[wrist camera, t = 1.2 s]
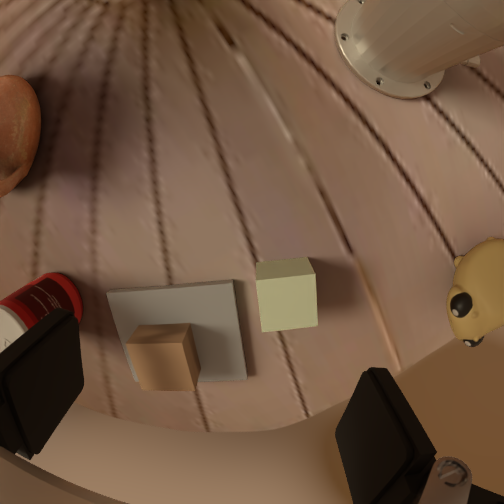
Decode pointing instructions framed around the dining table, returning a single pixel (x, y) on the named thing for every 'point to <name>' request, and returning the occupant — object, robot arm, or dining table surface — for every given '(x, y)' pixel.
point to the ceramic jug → (17, 130)
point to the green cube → (286, 294)
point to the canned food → (36, 305)
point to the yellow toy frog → (477, 292)
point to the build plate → (188, 311)
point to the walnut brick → (165, 357)
